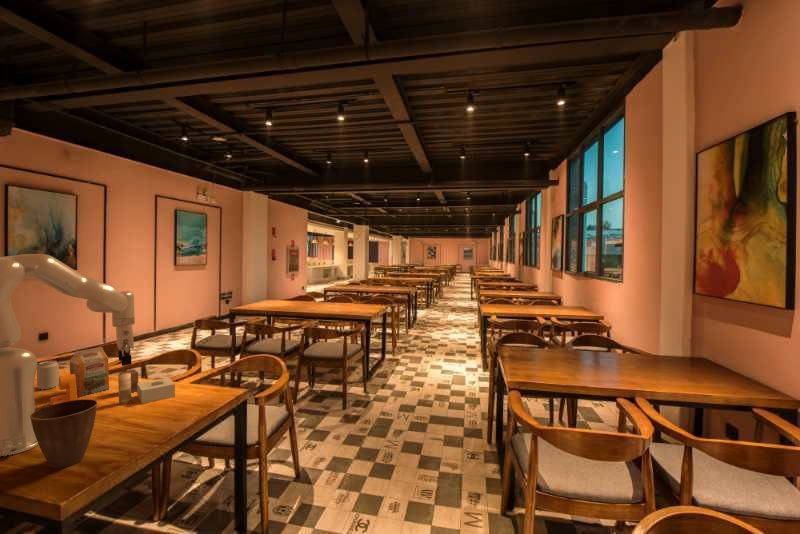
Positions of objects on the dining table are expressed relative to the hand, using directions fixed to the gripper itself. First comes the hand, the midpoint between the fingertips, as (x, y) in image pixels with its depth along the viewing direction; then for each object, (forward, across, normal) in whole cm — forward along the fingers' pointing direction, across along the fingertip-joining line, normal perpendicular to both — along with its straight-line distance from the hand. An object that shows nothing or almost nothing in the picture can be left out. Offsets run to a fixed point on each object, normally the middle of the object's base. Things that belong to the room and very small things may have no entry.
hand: (125, 362), depth 159 cm
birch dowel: (+17, 0, 0) cm, 17 cm away
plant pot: (+16, -44, +20) cm, 51 cm away
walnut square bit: (+17, +14, -2) cm, 22 cm away
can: (+17, +46, +24) cm, 55 cm away
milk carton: (+17, +27, +10) cm, 33 cm away
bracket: (+17, +14, +20) cm, 29 cm away
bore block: (+17, 0, -10) cm, 20 cm away
